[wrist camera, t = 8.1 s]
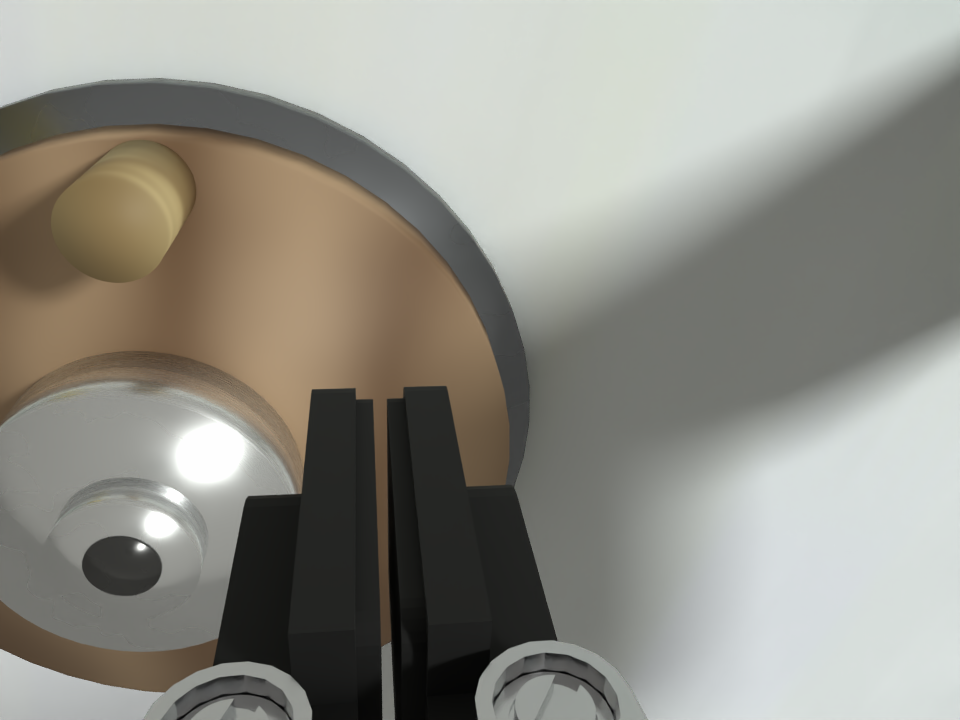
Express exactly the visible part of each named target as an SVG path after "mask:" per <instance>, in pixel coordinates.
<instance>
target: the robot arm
mask: <svg viewBox="0 0 960 720" xmlns="http://www.w3.org/2000/svg"><path fill="white" fill-rule="evenodd" d="M387 487H388V578H389V602H390V623H391V644H392V665H393V686H394V707H395V720H648V719H647V717H646V715H645V713H644V712H643V710H642V708H641V706H640V704H639V702H638V701H637V699H636V697H635V695H634V693H633V691H632V689H631V688H630V686H629V685H628V683H627V682H626V681H625V679H624V678H623V677H622V675H621V674H620V673H619V671H618V670H617V669H616V668H615V667H614V666H612V665H611V664H610V663H609V662H607V661H606V660H605V659H603V658H602V657H601V656H599V655H598V654H596V653H594V652H592V651H589V650H587V649H585V648H583V647H580V646H578V645H576V644H570V643H565V642H559V641H557V637H556V634H555V630H554V627H553V623H552V619H551V616H550V612H549V609H548V605H547V602H546V598H545V594H544V591H543V587H542V584H541V580H540V576H539V573H538V569H537V566H536V562H535V558H534V555H533V551H532V548H531V544H530V541H529V537H528V533H527V530H526V526H525V523H524V519H523V515H522V512H521V508H520V505H519V501H518V498H517V494H516V492H515V489H514V487H513V486H512V485H491V486H468V487H466V482H465V477H464V471H463V466H462V461H461V456H460V451H459V446H458V441H457V435H456V430H455V425H454V420H453V415H452V410H451V404H450V399H449V394H448V389H447V386H417V387H404V388H403V398H391V399H387ZM143 720H382V670H381V620H380V588H379V558H378V529H377V500H376V470H375V441H374V411H373V399H356V388H340V389H312V391H311V399H310V410H309V420H308V430H307V441H306V451H305V461H304V472H303V482H302V492H301V494H282V495H259V496H248V497H247V498H246V500H245V504H244V507H243V512H242V518H241V523H240V528H239V533H238V538H237V543H236V549H235V554H234V559H233V564H232V569H231V574H230V580H229V585H228V590H227V595H226V600H225V606H224V611H223V616H222V621H221V626H220V631H219V637H218V642H217V647H216V652H215V657H214V662H213V667H210V668H206V669H203V670H200V671H197V672H195V673H193V674H192V675H190V676H188V677H186V678H185V679H183V680H181V681H179V682H178V683H176V684H174V685H173V686H172V687H171V688H169V689H168V690H167V691H166V692H165V693H164V694H163V695H162V696H161V697H160V698H159V699H158V700H156V701H155V702H154V703H153V705H152V706H151V708H150V709H149V711H148V712H147V714H146V716H145V717H144V719H143Z"/></svg>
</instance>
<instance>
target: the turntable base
mask: <svg viewBox="0 0 960 720" xmlns="http://www.w3.org/2000/svg"><path fill="white" fill-rule="evenodd" d="M141 124H165V125H176V126H188V127H199V128H209V129H214V130H218V131H223V132H227V133H232V134H237V135H241V136H246V137H251V138H255V139H259V140H262V141H265V142H268V143H270V144H273V145H276V146H279V147H282V148H285V149H288V150H291V151H293V152H296V153H299V154H302V155H305V156H307V157H309V158H311V159H313V160H315V161H317V162H319V163H321V164H323V165H325V166H327V167H329V168H331V169H333V170H335V171H337V172H339V173H341V174H343V175H345V176H347V177H349V178H350V179H352V180H353V181H355V182H356V183H358V184H359V185H361V186H362V187H364V188H365V189H367V190H369V191H370V192H372V193H373V194H375V195H376V196H378V197H379V198H381V199H382V200H384V201H385V202H386V203H388V204H389V205H390V206H391V207H392V208H393V209H395V210H396V211H397V212H398V213H399V214H400V215H402V216H403V217H404V218H405V219H406V220H407V221H409V222H410V223H411V224H412V225H413V226H414V227H416V228H417V229H418V230H419V231H420V232H421V233H422V234H423V235H424V237H425V238H426V239H427V240H428V241H429V242H430V243H431V244H432V246H433V247H434V248H435V249H436V250H437V251H438V252H439V253H440V254H441V256H442V257H443V258H444V259H445V260H446V261H447V263H448V264H449V265H450V267H451V268H452V270H453V271H454V273H455V274H456V276H457V277H458V279H459V280H460V282H461V283H462V285H463V286H464V288H465V289H466V291H467V292H468V294H469V295H470V297H471V300H472V302H473V304H474V306H475V308H476V310H477V312H478V314H479V316H480V318H481V320H482V322H483V324H484V326H485V328H486V332H487V335H488V338H489V341H490V344H491V347H492V351H493V354H494V357H495V360H496V363H497V367H498V370H499V374H500V378H501V381H502V385H503V388H504V393H505V399H506V406H507V412H508V419H509V465H508V471H507V478H506V484H505V485H512V486H513V487H514V485H515V482H516V478H517V475H518V472H519V469H520V466H521V463H522V460H523V456H524V450H525V444H526V438H527V432H528V426H529V380H528V373H527V366H526V359H525V352H524V347H523V344H522V341H521V337H520V334H519V331H518V327H517V324H516V320H515V317H514V314H513V311H512V308H511V305H510V302H509V300H508V298H507V296H506V294H505V292H504V289H503V287H502V285H501V283H500V281H499V279H498V276H497V274H496V272H495V270H494V268H493V266H492V264H491V263H490V261H489V259H488V258H487V256H486V255H485V253H484V252H483V250H482V249H481V247H480V246H479V244H478V243H477V241H476V239H475V238H474V236H473V235H472V233H471V232H470V230H469V229H468V228H467V227H466V225H465V224H464V223H463V222H462V221H461V220H460V218H459V217H458V216H457V215H456V214H455V213H454V212H453V210H452V209H451V208H450V207H449V206H448V205H447V203H446V202H445V201H444V200H443V199H442V198H441V197H440V195H438V194H437V193H436V192H435V191H434V190H433V189H432V188H431V187H429V186H428V185H427V184H426V183H425V182H424V181H423V180H422V179H420V178H419V177H418V176H417V175H416V174H415V173H414V172H413V171H411V170H410V169H409V168H408V167H407V166H406V165H405V164H403V163H402V162H400V161H399V160H397V159H396V158H394V157H393V156H392V155H390V154H389V153H387V152H386V151H384V150H383V149H381V148H380V147H378V146H377V145H375V144H374V143H372V142H371V141H369V140H368V139H367V138H365V137H364V136H362V135H360V134H358V133H356V132H354V131H352V130H350V129H348V128H346V127H344V126H342V125H340V124H338V123H336V122H334V121H332V120H330V119H328V118H326V117H324V116H322V115H320V114H318V113H316V112H313V111H311V110H308V109H305V108H302V107H299V106H297V105H294V104H291V103H288V102H286V101H283V100H280V99H277V98H274V97H272V96H269V95H265V94H261V93H256V92H252V91H247V90H243V89H238V88H234V87H230V86H225V85H221V84H216V83H208V82H197V81H186V80H175V79H165V78H150V79H124V80H104V81H98V82H93V83H87V84H81V85H76V86H70V87H64V88H59V89H53V90H50V91H47V92H44V93H41V94H38V95H35V96H32V97H29V98H26V99H23V100H20V101H17V102H14V103H11V104H7V105H4V106H2V107H0V155H1V154H3V153H5V152H7V151H9V150H12V149H14V148H17V147H20V146H24V145H27V144H30V143H33V142H36V141H39V140H42V139H45V138H48V137H52V136H55V135H58V134H63V133H69V132H75V131H80V130H86V129H92V128H98V127H103V126H116V125H141Z"/></svg>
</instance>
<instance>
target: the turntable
mask: <svg viewBox="0 0 960 720" xmlns="http://www.w3.org/2000/svg"><path fill="white" fill-rule="evenodd" d="M121 351H152V352H160V353H168V354H174V355H178V356H182V357H186V358H191V359H194V360H197V361H200V362H203V363H205V364H208V365H211V366H213V367H216V368H218V369H220V370H222V371H224V372H226V373H228V374H230V375H232V376H234V377H235V378H237V379H238V380H240V381H242V382H243V383H245V384H246V385H248V386H249V387H250V388H252V389H253V390H254V391H255V392H257V393H258V394H259V395H260V396H262V397H263V398H264V399H265V400H266V401H267V402H268V403H269V404H270V405H271V406H272V407H273V408H274V409H275V410H276V411H277V413H278V414H279V415H280V417H281V418H282V420H283V421H284V422H285V424H286V425H287V426H288V428H289V430H290V432H291V434H292V436H293V437H294V439H295V441H296V444H297V447H298V450H299V452H300V455H301V459H302V465H303V470H304V461H305V451H306V441H307V430H308V420H309V410H310V399H311V391H312V389H340V388H356V399H373V411H374V441H375V470H376V500H377V529H378V558H379V588H380V620H381V647H382V646H384V645H385V644H387V643H389V642H390V641H391V623H390V602H389V578H388V487H387V399H391V398H403V388H404V387H417V386H447V389H448V394H449V399H450V404H451V410H452V415H453V420H454V425H455V430H456V435H457V441H458V446H459V451H460V456H461V461H462V466H463V471H464V477H465V482H466V487H468V486H491V485H505V484H506V478H507V471H508V465H509V419H508V412H507V406H506V399H505V393H504V388H503V385H502V381H501V378H500V374H499V370H498V367H497V363H496V360H495V357H494V354H493V351H492V347H491V344H490V341H489V338H488V335H487V332H486V328H485V326H484V324H483V322H482V320H481V318H480V316H479V314H478V312H477V310H476V308H475V306H474V304H473V302H472V300H471V297H470V295H469V294H468V292H467V291H466V289H465V288H464V286H463V285H462V283H461V282H460V280H459V279H458V277H457V276H456V274H455V273H454V271H453V270H452V268H451V267H450V265H449V264H448V263H447V261H446V260H445V259H444V258H443V257H442V256H441V254H440V253H439V252H438V251H437V250H436V249H435V248H434V247H433V246H432V244H431V243H430V242H429V241H428V240H427V239H426V238H425V237H424V235H423V234H422V233H421V232H420V231H419V230H418V229H417V228H416V227H414V226H413V225H412V224H411V223H410V222H409V221H407V220H406V219H405V218H404V217H403V216H402V215H400V214H399V213H398V212H397V211H396V210H395V209H393V208H392V207H391V206H390V205H389V204H388V203H386V202H385V201H384V200H382V199H381V198H379V197H378V196H376V195H375V194H373V193H372V192H370V191H369V190H367V189H365V188H364V187H362V186H361V185H359V184H358V183H356V182H355V181H353V180H352V179H350V178H349V177H347V176H345V175H343V174H341V173H339V172H337V171H335V170H333V169H331V168H329V167H327V166H325V165H323V164H321V163H319V162H317V161H315V160H313V159H311V158H309V157H307V156H305V155H302V154H299V153H296V152H293V151H291V150H288V149H285V148H282V147H279V146H276V145H273V144H270V143H268V142H265V141H262V140H259V139H255V138H251V137H246V136H241V135H237V134H232V133H227V132H223V131H218V130H214V129H209V128H199V127H188V126H176V125H165V124H141V125H116V126H103V127H98V128H92V129H86V130H80V131H75V132H69V133H63V134H58V135H55V136H52V137H48V138H45V139H42V140H39V141H36V142H33V143H30V144H27V145H24V146H20V147H17V148H14V149H12V150H9V151H7V152H5V153H3V154H1V155H0V423H1V422H2V421H3V419H4V418H5V417H6V415H7V414H8V413H9V411H10V410H11V409H12V407H13V406H14V404H15V403H16V402H17V400H18V399H19V398H20V397H21V396H22V395H23V394H24V393H25V392H26V391H27V390H28V389H29V388H30V387H31V386H32V385H33V384H34V383H36V382H37V381H38V380H40V379H41V378H43V377H44V376H45V375H47V374H48V373H50V372H52V371H54V370H56V369H58V368H60V367H62V366H64V365H66V364H68V363H71V362H74V361H77V360H80V359H82V358H85V357H90V356H95V355H99V354H104V353H111V352H121ZM217 642H218V638H217V639H214V640H211V641H208V642H205V643H202V644H199V645H195V646H190V647H186V648H182V649H174V650H167V651H153V652H133V651H119V650H111V649H104V648H99V647H94V646H90V645H86V644H81V643H78V642H75V641H72V640H69V639H66V638H63V637H60V636H58V635H56V634H53V633H51V632H49V631H47V630H44V629H42V628H40V627H38V626H37V625H35V624H33V623H31V622H30V621H28V620H26V619H24V618H23V617H21V616H20V615H19V614H17V613H16V612H14V611H13V610H12V609H10V608H9V607H8V606H6V605H5V604H4V603H3V602H2V601H1V600H0V649H2V650H4V651H7V652H9V653H11V654H13V655H15V656H18V657H20V658H22V659H24V660H27V661H29V662H31V663H34V664H37V665H40V666H42V667H45V668H48V669H51V670H54V671H57V672H60V673H63V674H65V675H68V676H72V677H76V678H80V679H84V680H88V681H92V682H96V683H100V684H104V685H110V686H116V687H122V688H129V689H135V690H141V691H151V692H166V691H167V690H168V689H169V688H171V687H172V686H173V685H174V684H176V683H178V682H179V681H181V680H183V679H185V678H186V677H188V676H190V675H192V674H193V673H195V672H197V671H200V670H203V669H206V668H210V667H213V662H214V657H215V652H216V647H217Z"/></svg>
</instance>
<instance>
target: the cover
mask: <svg viewBox="0 0 960 720" xmlns="http://www.w3.org/2000/svg"><path fill="white" fill-rule="evenodd" d="M303 472H304V470H303V465H302V459H301V455H300V452H299V450H298V447H297V444H296V441H295V439H294V437H293V436H292V434H291V432H290V430H289V428H288V426H287V425H286V424H285V422H284V421H283V420H282V418H281V417H280V415H279V414H278V413H277V411H276V410H275V409H274V408H273V407H272V406H271V405H270V404H269V403H268V402H267V401H266V400H265V399H264V398H263V397H262V396H260V395H259V394H258V393H257V392H255V391H254V390H253V389H252V388H250V387H249V386H248V385H246V384H245V383H243V382H242V381H240V380H238V379H237V378H235V377H234V376H232V375H230V374H228V373H226V372H224V371H222V370H220V369H218V368H216V367H213V366H211V365H208V364H205V363H203V362H200V361H197V360H194V359H191V358H186V357H182V356H178V355H174V354H168V353H160V352H152V351H121V352H111V353H104V354H99V355H95V356H90V357H85V358H82V359H80V360H77V361H74V362H71V363H68V364H66V365H64V366H62V367H60V368H58V369H56V370H54V371H52V372H50V373H48V374H47V375H45V376H44V377H43V378H41V379H40V380H38V381H37V382H36V383H34V384H33V385H32V386H31V387H30V388H29V389H28V390H27V391H26V392H25V393H24V394H23V395H22V396H21V397H20V398H19V399H18V400H17V402H16V403H15V404H14V406H13V407H12V409H11V410H10V411H9V413H8V414H7V415H6V417H5V418H4V419H3V421H2V422H1V423H0V600H1V601H2V602H3V603H4V604H5V605H6V606H8V607H9V608H10V609H12V610H13V611H14V612H16V613H17V614H19V615H20V616H21V617H23V618H24V619H26V620H28V621H30V622H31V623H33V624H35V625H37V626H38V627H40V628H42V629H44V630H47V631H49V632H51V633H53V634H56V635H58V636H60V637H63V638H66V639H69V640H72V641H75V642H78V643H81V644H86V645H90V646H94V647H99V648H104V649H111V650H119V651H133V652H153V651H167V650H174V649H182V648H186V647H190V646H195V645H199V644H202V643H205V642H208V641H211V640H214V639H217V638H218V637H219V631H220V626H221V621H222V616H223V611H224V606H225V600H226V595H227V590H228V585H229V580H230V574H231V569H232V564H233V559H234V554H235V549H236V543H237V538H238V533H239V528H240V523H241V518H242V512H243V507H244V504H245V500H246V498H247V497H248V496H259V495H282V494H301V492H302V482H303Z"/></svg>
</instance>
